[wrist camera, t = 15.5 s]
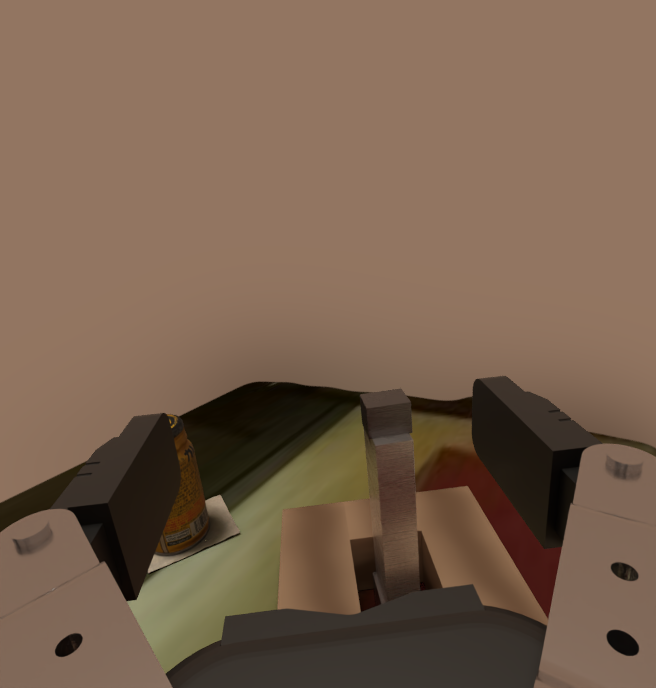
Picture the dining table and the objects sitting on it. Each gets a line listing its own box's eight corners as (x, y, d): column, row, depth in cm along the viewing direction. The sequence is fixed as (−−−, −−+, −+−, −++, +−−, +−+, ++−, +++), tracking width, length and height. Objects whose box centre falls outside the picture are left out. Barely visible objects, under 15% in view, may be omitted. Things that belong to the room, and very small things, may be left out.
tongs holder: (284, 780, 24) (271, 716, 22) (290, 556, 39) (282, 509, 38) (573, 738, 24) (580, 673, 23) (467, 533, 40) (467, 486, 38)
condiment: (139, 527, 45) (109, 422, 41) (220, 496, 49) (200, 397, 45) (148, 575, 39) (114, 456, 35) (240, 535, 42) (219, 423, 39)
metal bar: (390, 658, 30) (371, 418, 24) (375, 603, 34) (356, 387, 28) (427, 651, 30) (417, 411, 24) (408, 596, 34) (395, 381, 28)
